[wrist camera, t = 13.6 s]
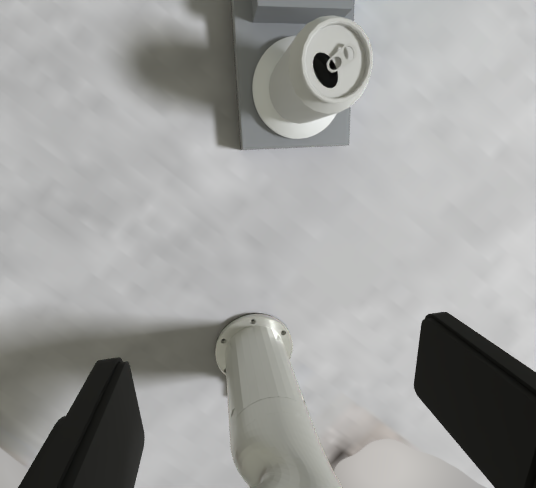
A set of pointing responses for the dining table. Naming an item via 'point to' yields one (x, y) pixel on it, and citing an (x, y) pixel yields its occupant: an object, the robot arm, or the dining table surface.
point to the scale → (263, 63)
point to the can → (321, 70)
